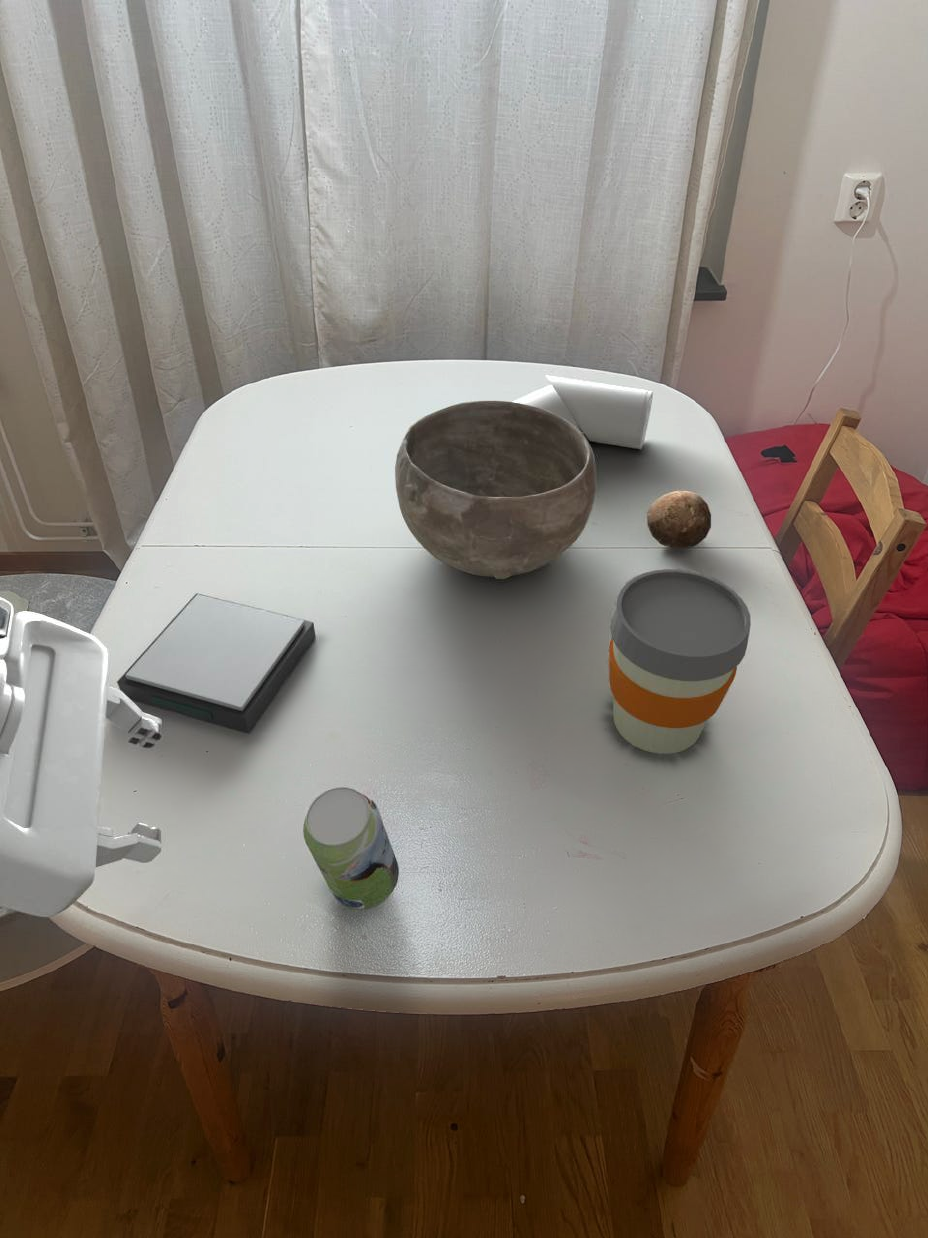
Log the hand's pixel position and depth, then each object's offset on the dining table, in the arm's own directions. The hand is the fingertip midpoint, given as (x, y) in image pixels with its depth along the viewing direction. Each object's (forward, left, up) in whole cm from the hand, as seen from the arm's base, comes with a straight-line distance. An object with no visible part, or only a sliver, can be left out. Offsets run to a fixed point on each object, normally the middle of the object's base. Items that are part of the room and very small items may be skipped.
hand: (156, 787), depth 57 cm
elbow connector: (+11, +86, -20) cm, 89 cm away
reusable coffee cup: (+31, +35, -20) cm, 51 cm away
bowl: (+6, +57, -20) cm, 61 cm away
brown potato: (+28, +67, -20) cm, 75 cm away
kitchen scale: (-15, +27, -19) cm, 37 cm away
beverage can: (+10, +8, -20) cm, 23 cm away
